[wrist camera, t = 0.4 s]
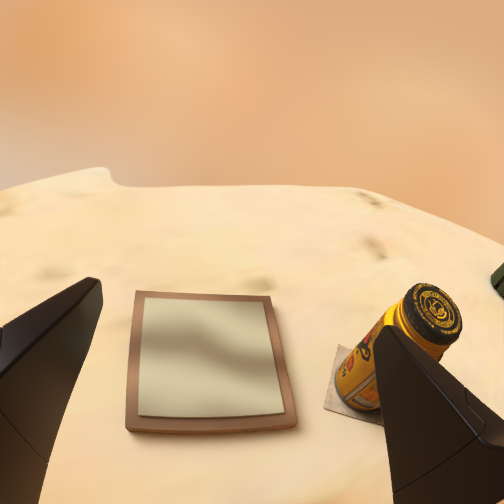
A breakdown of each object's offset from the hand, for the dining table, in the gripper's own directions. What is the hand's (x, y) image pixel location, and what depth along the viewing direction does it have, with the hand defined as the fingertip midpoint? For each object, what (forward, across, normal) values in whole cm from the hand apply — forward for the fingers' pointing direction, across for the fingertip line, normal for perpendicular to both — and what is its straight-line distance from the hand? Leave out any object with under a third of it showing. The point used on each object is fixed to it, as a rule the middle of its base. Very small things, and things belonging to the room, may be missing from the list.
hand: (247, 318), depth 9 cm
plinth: (+10, 0, +15) cm, 18 cm away
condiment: (+9, -15, +15) cm, 23 cm away
